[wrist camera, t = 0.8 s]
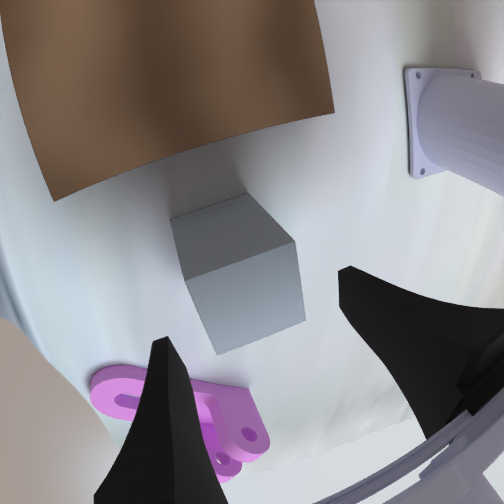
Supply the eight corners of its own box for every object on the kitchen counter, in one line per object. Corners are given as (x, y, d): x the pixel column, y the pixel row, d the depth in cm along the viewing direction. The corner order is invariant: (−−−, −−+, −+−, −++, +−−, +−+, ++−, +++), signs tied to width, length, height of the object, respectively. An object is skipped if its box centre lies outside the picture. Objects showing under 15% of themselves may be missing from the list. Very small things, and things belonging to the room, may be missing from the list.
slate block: (248, 192, 17) (294, 241, 12) (263, 259, 20) (305, 320, 15) (169, 219, 17) (184, 281, 12) (194, 283, 19) (217, 355, 14)
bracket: (248, 387, 26) (276, 453, 20) (217, 421, 27) (239, 482, 22) (100, 355, 20) (100, 440, 14) (84, 397, 21) (85, 471, 15)
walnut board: (264, -99, 8) (278, -114, 7) (315, 109, 16) (334, 113, 14) (9, -37, 6) (-4, -48, 5) (63, 188, 14) (54, 201, 12)
